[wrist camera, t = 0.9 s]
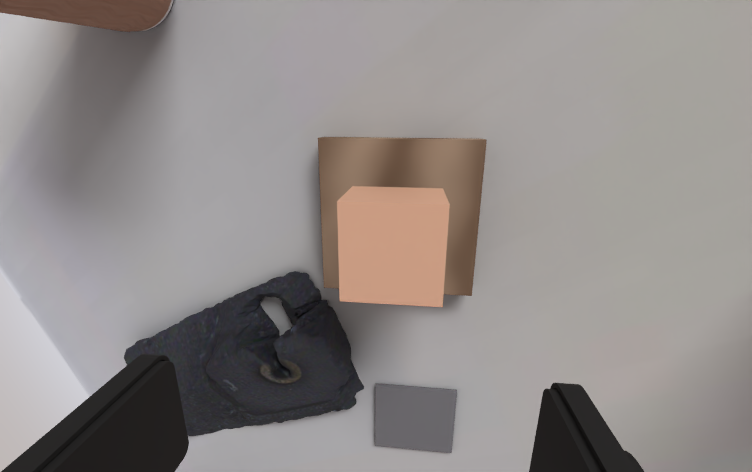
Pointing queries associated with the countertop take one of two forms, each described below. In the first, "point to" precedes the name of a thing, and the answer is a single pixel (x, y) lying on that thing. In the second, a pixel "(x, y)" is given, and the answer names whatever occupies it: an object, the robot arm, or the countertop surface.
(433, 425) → the mat
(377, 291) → the peach colored cube
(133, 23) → the coffee cup
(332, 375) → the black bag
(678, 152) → the countertop surface
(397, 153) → the square brown stand
